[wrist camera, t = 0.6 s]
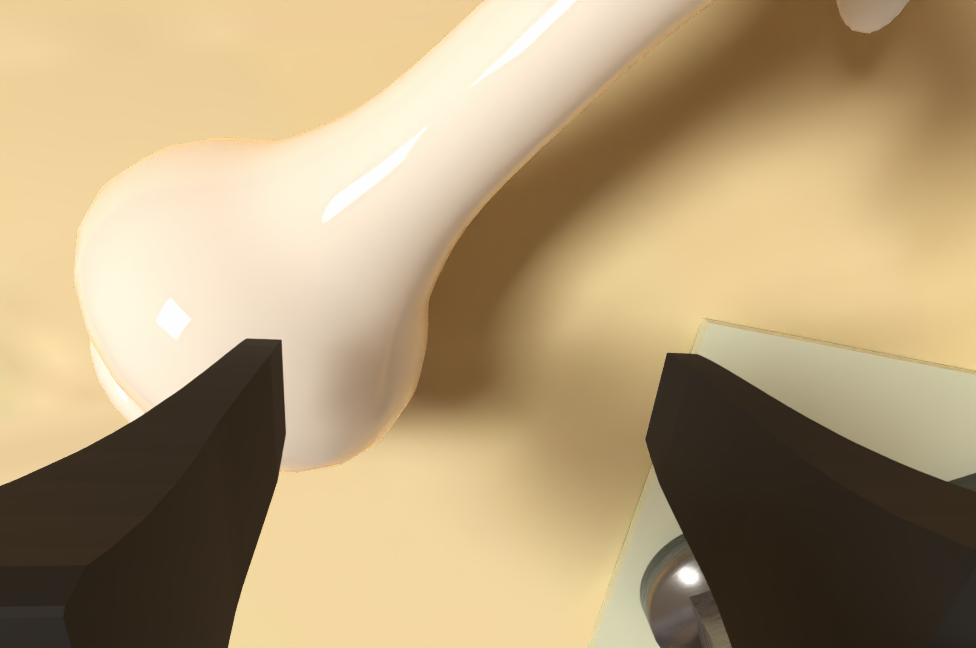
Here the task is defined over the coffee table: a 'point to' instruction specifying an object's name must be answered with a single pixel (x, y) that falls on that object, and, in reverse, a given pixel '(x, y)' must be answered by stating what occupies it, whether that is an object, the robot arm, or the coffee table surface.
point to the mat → (826, 400)
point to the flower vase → (346, 219)
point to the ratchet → (692, 596)
